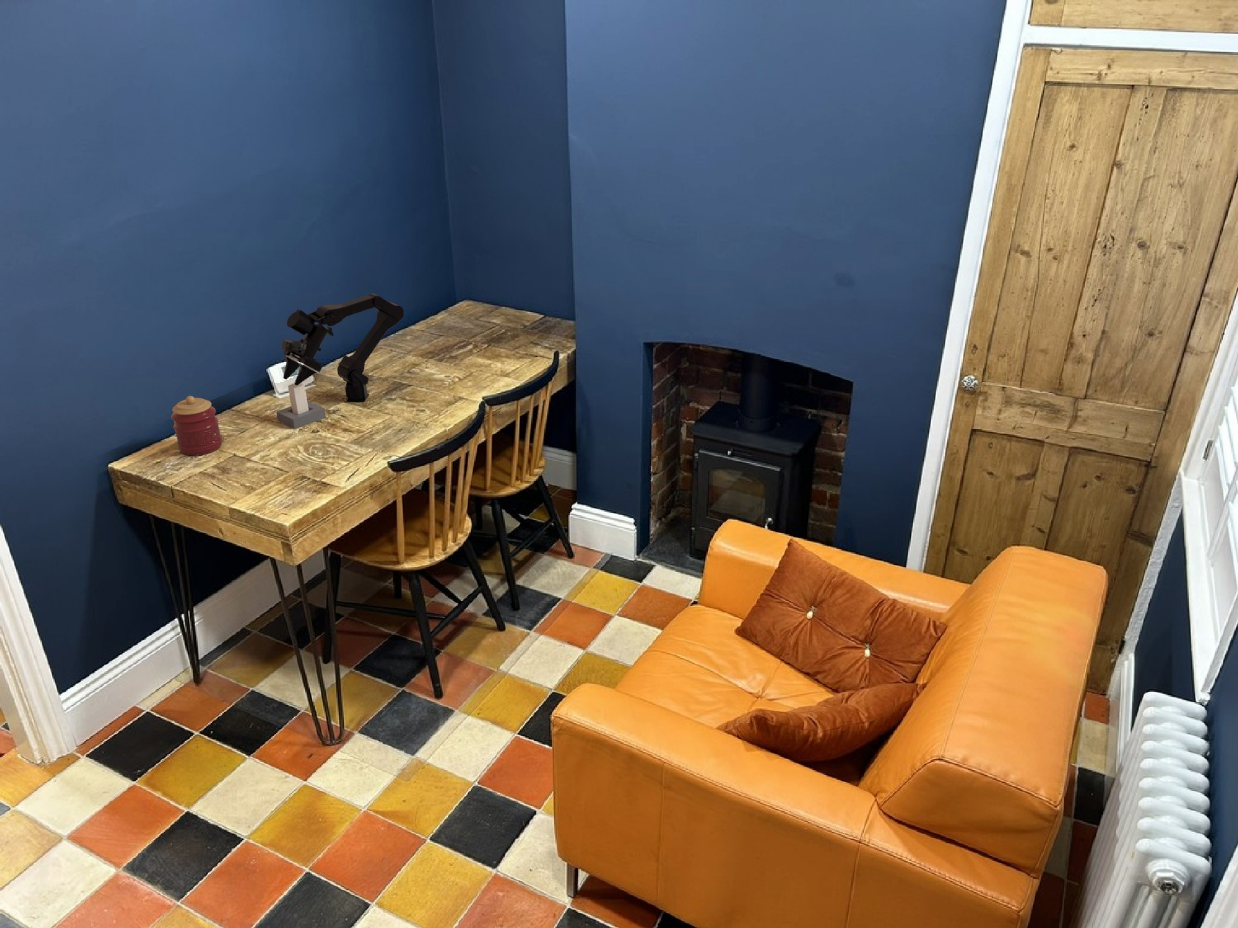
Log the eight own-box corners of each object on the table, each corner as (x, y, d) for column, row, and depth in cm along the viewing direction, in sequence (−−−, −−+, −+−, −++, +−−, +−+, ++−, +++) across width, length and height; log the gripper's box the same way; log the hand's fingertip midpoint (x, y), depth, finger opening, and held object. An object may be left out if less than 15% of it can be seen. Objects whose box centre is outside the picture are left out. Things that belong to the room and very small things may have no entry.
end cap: (309, 409, 325) (307, 400, 323) (325, 417, 319) (324, 408, 318) (278, 421, 317) (276, 411, 315) (294, 429, 311) (293, 419, 310)
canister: (198, 459, 292) (185, 407, 284) (170, 451, 297) (157, 399, 289) (232, 443, 302) (221, 393, 294) (204, 435, 307) (193, 385, 299)
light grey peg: (304, 416, 320) (298, 382, 315) (310, 418, 318) (304, 384, 313) (293, 420, 318) (287, 385, 312) (299, 422, 316) (293, 388, 310)
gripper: (281, 324, 315) (258, 365, 314) (304, 334, 301) (280, 377, 300) (309, 340, 323) (286, 380, 321) (332, 350, 309) (309, 392, 308)
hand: (290, 382), depth 313 cm, fingers open, 9 cm apart
